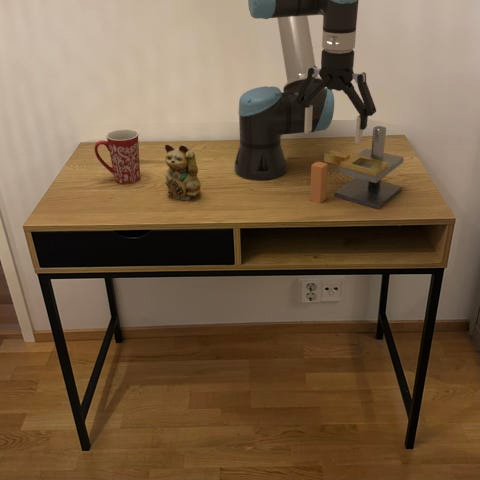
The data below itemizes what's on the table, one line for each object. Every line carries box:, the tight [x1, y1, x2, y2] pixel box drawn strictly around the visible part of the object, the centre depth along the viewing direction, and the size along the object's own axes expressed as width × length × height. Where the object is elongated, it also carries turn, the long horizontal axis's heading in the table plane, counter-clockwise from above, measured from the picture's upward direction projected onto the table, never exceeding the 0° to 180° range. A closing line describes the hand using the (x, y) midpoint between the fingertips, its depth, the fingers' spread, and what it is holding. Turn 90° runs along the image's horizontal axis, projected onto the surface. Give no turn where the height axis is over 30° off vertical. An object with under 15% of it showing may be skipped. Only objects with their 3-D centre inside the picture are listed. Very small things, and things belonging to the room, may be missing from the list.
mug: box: [94, 128, 141, 185], centre depth 166 cm, size 13×9×14 cm
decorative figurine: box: [164, 143, 201, 201], centre depth 156 cm, size 10×8×15 cm
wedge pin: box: [309, 161, 329, 204], centre depth 152 cm, size 3×3×10 cm
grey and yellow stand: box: [323, 125, 405, 210], centre depth 154 cm, size 18×16×17 cm
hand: (332, 136), depth 147 cm, fingers open, 13 cm apart
